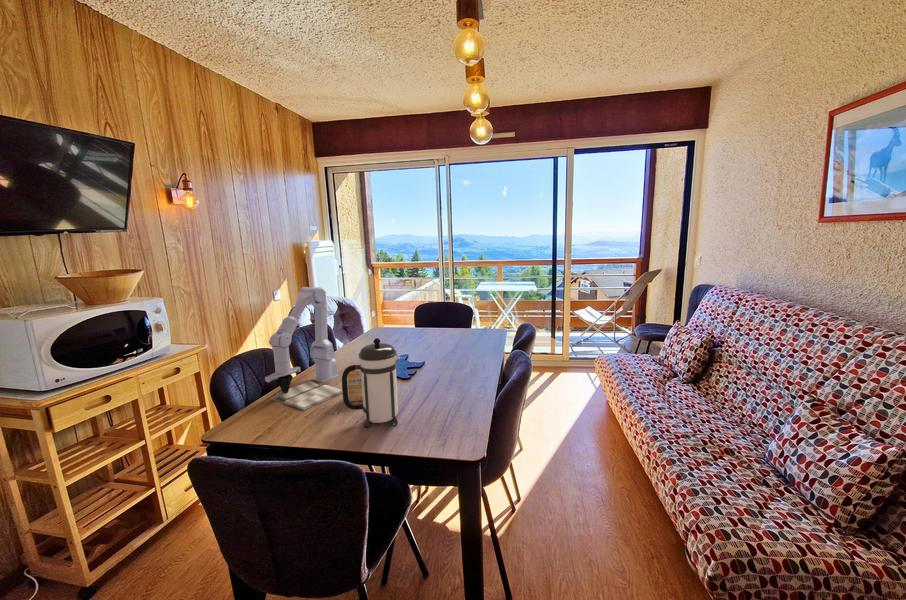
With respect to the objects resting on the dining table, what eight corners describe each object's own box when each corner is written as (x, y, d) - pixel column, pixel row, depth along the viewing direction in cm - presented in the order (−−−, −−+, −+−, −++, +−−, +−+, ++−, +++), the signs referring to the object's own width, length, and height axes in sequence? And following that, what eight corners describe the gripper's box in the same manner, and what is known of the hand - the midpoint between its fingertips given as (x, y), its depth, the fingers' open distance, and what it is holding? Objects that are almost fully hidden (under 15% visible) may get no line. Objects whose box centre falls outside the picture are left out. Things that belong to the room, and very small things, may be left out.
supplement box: (348, 402, 145) (346, 371, 143) (348, 397, 149) (346, 367, 147) (369, 399, 147) (367, 368, 145) (369, 395, 151) (367, 365, 149)
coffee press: (382, 406, 141) (377, 330, 136) (411, 417, 131) (407, 336, 126) (343, 423, 128) (337, 340, 123) (372, 438, 117) (366, 348, 113)
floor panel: (312, 383, 166) (312, 380, 166) (345, 393, 154) (345, 389, 154) (270, 399, 149) (270, 396, 149) (303, 412, 137) (303, 408, 137)
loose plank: (309, 383, 163) (309, 381, 163) (319, 387, 160) (319, 385, 160) (276, 396, 150) (276, 393, 150) (286, 401, 146) (286, 398, 146)
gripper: (292, 355, 158) (295, 385, 160) (259, 365, 146) (262, 397, 148) (302, 358, 154) (305, 388, 156) (269, 368, 142) (272, 401, 144)
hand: (285, 393), depth 151 cm, fingers closed, pressing on loose plank
